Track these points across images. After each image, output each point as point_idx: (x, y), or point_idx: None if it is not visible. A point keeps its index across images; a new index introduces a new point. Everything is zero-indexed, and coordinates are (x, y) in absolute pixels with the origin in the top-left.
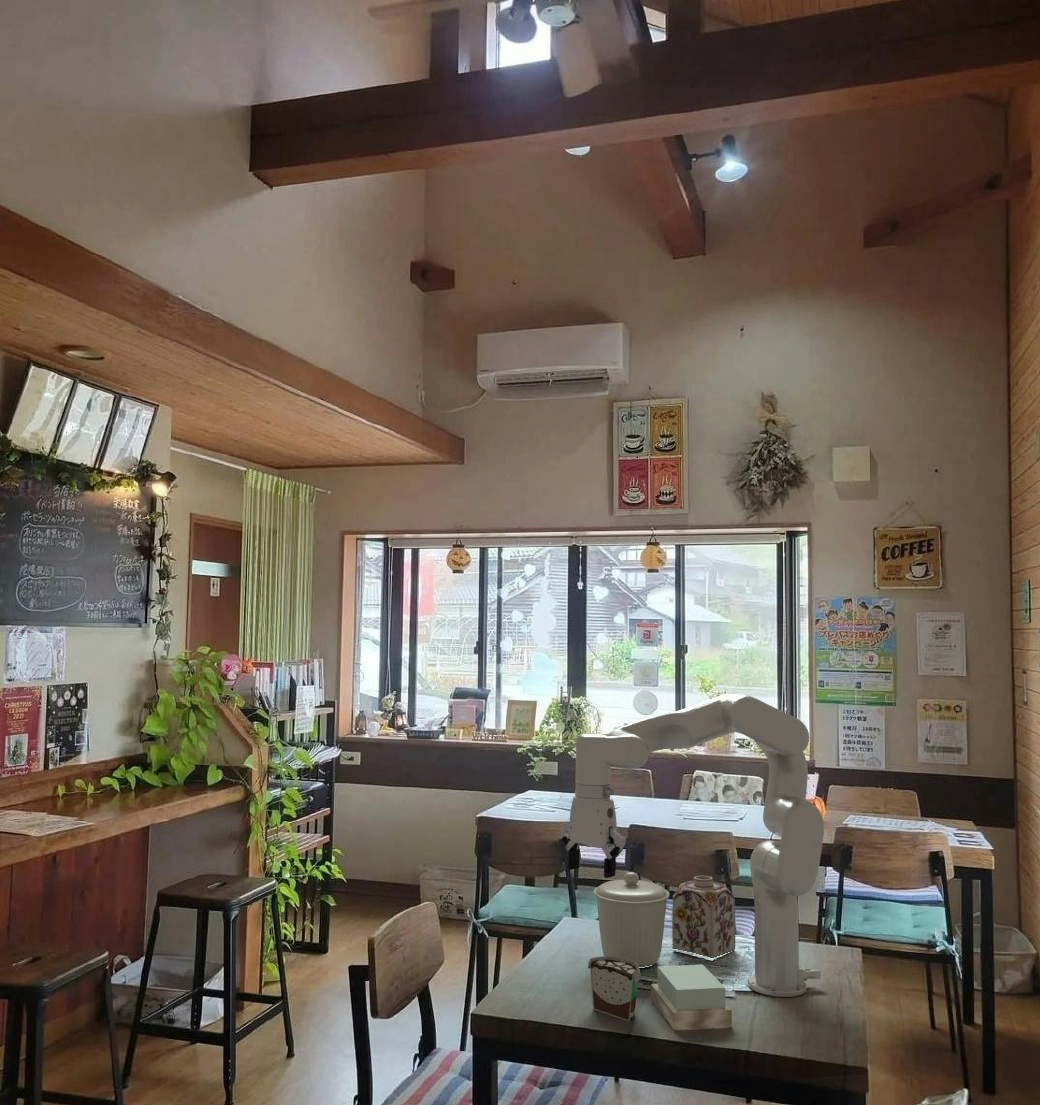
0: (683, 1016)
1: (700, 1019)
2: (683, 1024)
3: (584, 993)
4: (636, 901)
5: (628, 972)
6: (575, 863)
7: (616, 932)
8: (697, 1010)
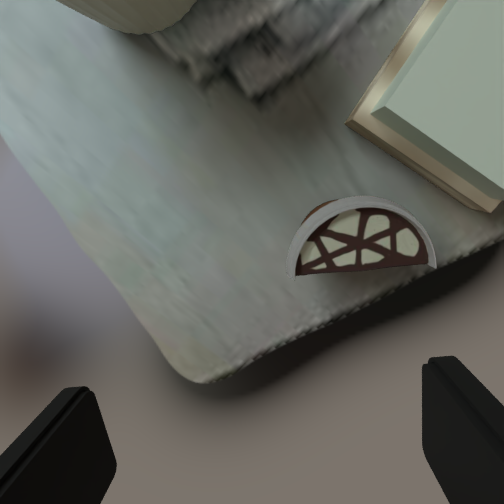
0: None
1: None
2: None
3: (227, 204)
4: None
5: (406, 255)
6: (83, 461)
7: (133, 4)
8: None
